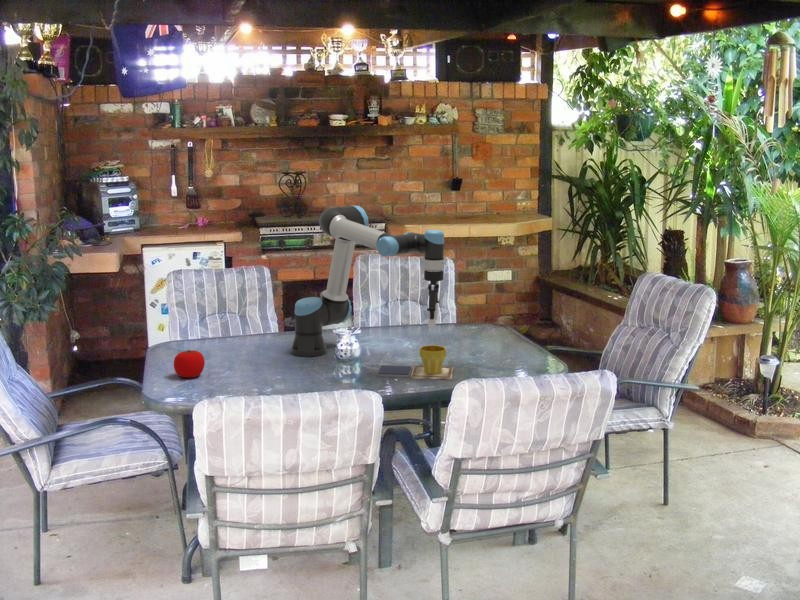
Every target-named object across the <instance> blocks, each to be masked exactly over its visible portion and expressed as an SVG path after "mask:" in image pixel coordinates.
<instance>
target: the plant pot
mask: <svg viewBox="0 0 800 600" xmlns="http://www.w3.org/2000/svg"><path fill="white" fill-rule="evenodd" d="M419 356H420V358H421V361H422V366H423V367H424V372H425V373H427V374H438V373H441V370H442V367H444V366H443V365H444V361H445V358H446V356H447V348H446V347H445V346H443V345H435V344H430V345H428V344H427V345H423V346H421V347H420V348H419Z"/></svg>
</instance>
